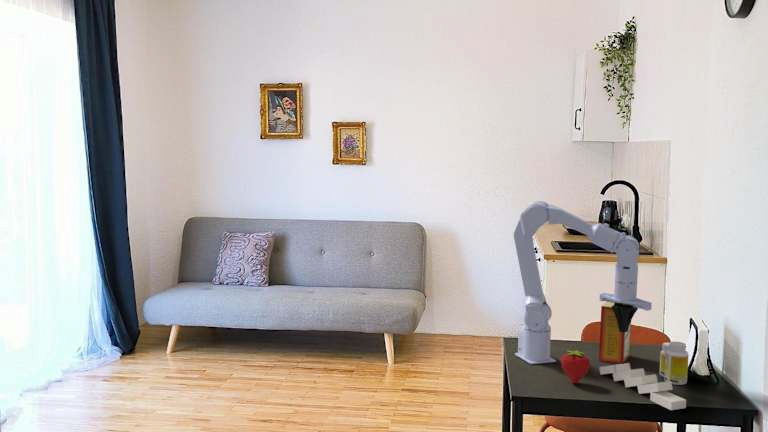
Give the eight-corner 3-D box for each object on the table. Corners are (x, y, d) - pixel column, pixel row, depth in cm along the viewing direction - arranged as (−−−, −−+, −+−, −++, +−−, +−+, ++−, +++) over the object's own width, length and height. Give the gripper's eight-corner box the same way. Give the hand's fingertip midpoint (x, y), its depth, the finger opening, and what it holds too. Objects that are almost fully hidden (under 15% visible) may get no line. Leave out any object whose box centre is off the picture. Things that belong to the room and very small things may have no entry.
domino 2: (623, 379, 195) (641, 376, 188) (637, 377, 196) (655, 374, 190) (625, 387, 194) (643, 384, 188) (639, 385, 196) (657, 382, 190)
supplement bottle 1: (679, 379, 201) (681, 347, 200) (660, 377, 202) (662, 346, 201) (676, 373, 206) (678, 342, 205) (658, 371, 207) (659, 341, 206)
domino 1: (612, 373, 199) (629, 370, 193) (626, 371, 201) (643, 368, 195) (614, 381, 199) (631, 378, 193) (628, 379, 200) (645, 376, 194)
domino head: (598, 366, 205) (615, 364, 198) (612, 365, 206) (629, 362, 200) (600, 374, 204) (616, 372, 198) (614, 373, 206) (630, 370, 199)
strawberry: (583, 389, 192) (585, 350, 191) (555, 383, 197) (557, 344, 196) (593, 383, 197) (595, 345, 196) (565, 377, 201) (567, 339, 200)
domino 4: (650, 392, 185) (671, 402, 179) (665, 390, 187) (686, 399, 180) (650, 400, 186) (670, 410, 179) (664, 398, 187) (685, 408, 181)
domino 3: (637, 385, 190) (656, 383, 184) (651, 383, 192) (671, 381, 186) (638, 393, 190) (658, 391, 183) (652, 391, 191) (672, 389, 185)
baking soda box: (606, 352, 224) (608, 298, 222) (629, 355, 221) (632, 301, 219) (598, 361, 216) (601, 304, 214) (622, 364, 213) (625, 307, 211)
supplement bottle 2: (691, 384, 198) (694, 345, 196) (675, 387, 195) (678, 347, 194) (674, 377, 203) (677, 339, 201) (659, 380, 200) (661, 341, 199)
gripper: (593, 279, 209) (591, 328, 211) (642, 288, 198) (639, 340, 200) (608, 276, 213) (606, 324, 215) (657, 284, 203) (654, 335, 204)
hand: (623, 331), depth 208 cm, fingers closed
